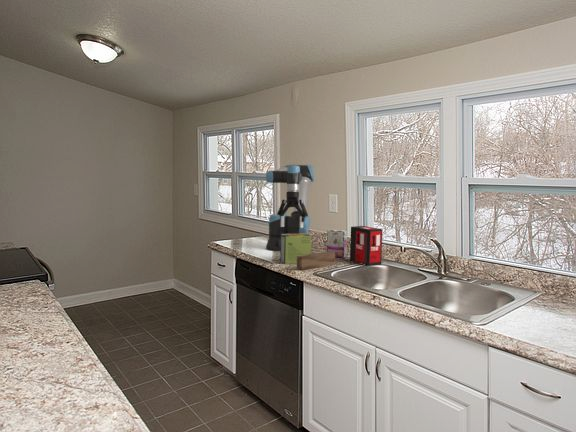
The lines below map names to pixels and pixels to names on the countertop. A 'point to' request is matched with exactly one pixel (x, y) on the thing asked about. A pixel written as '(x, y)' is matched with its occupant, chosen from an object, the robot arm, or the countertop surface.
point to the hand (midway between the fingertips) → (291, 227)
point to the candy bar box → (337, 242)
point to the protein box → (294, 247)
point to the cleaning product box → (366, 245)
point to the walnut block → (315, 260)
